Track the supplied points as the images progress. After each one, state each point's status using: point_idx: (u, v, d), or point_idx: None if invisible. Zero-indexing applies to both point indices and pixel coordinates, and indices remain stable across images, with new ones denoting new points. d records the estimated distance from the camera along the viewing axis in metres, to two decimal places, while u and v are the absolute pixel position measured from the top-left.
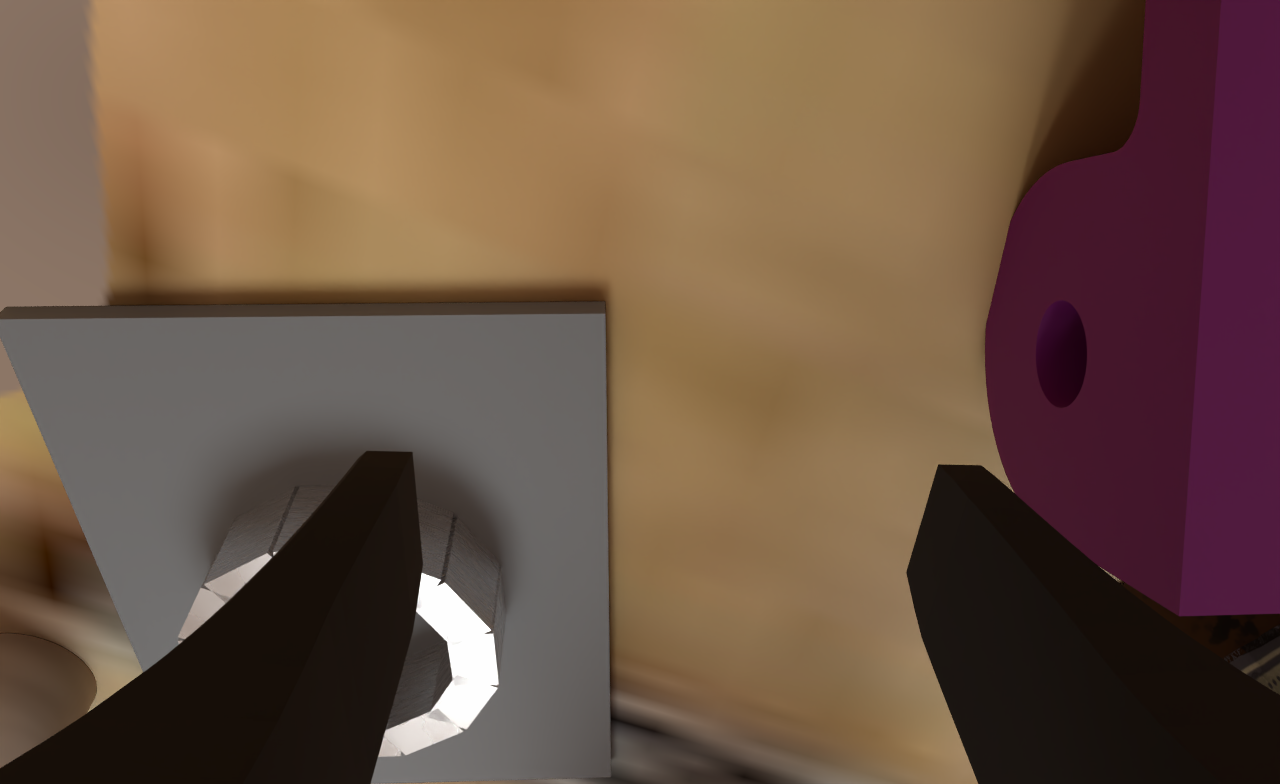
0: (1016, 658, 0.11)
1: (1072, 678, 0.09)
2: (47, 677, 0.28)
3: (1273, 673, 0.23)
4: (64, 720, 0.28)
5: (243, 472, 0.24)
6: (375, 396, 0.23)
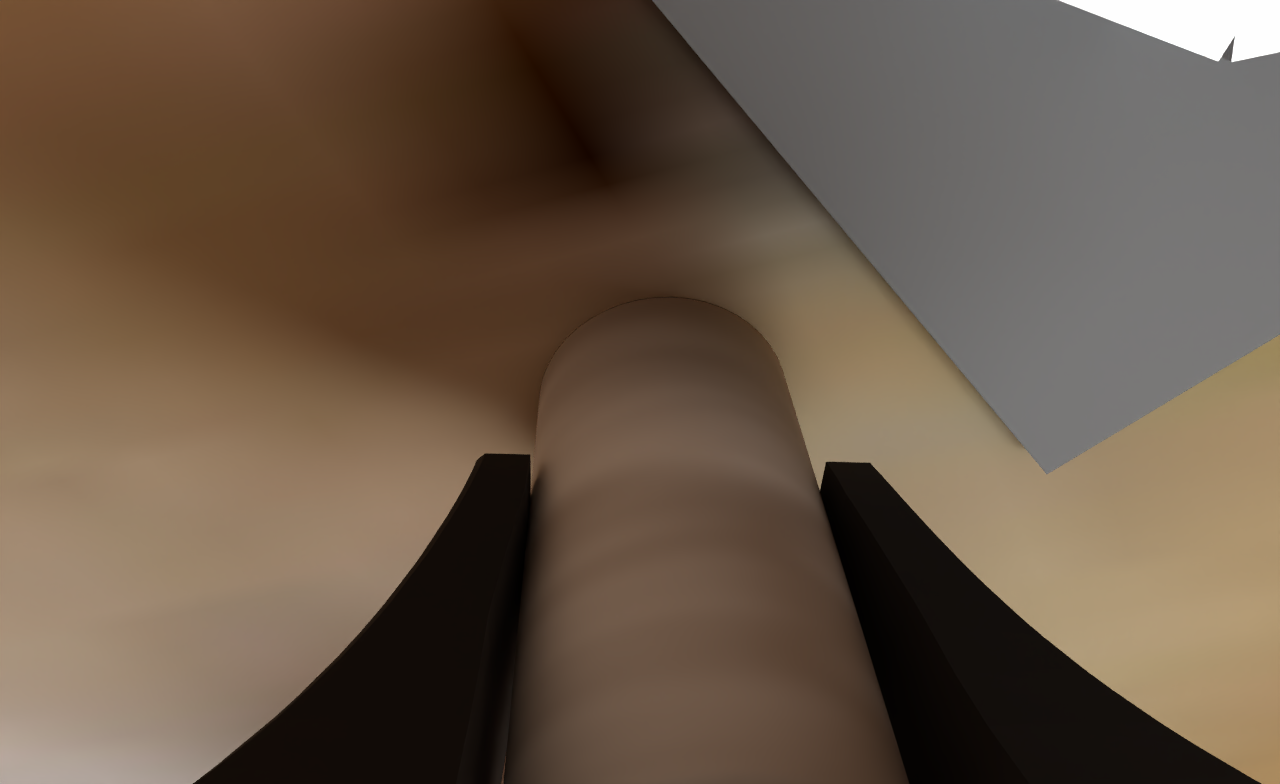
0: (883, 657, 0.11)
1: (923, 677, 0.09)
2: (690, 335, 0.13)
3: None
4: (771, 391, 0.13)
5: None
6: None
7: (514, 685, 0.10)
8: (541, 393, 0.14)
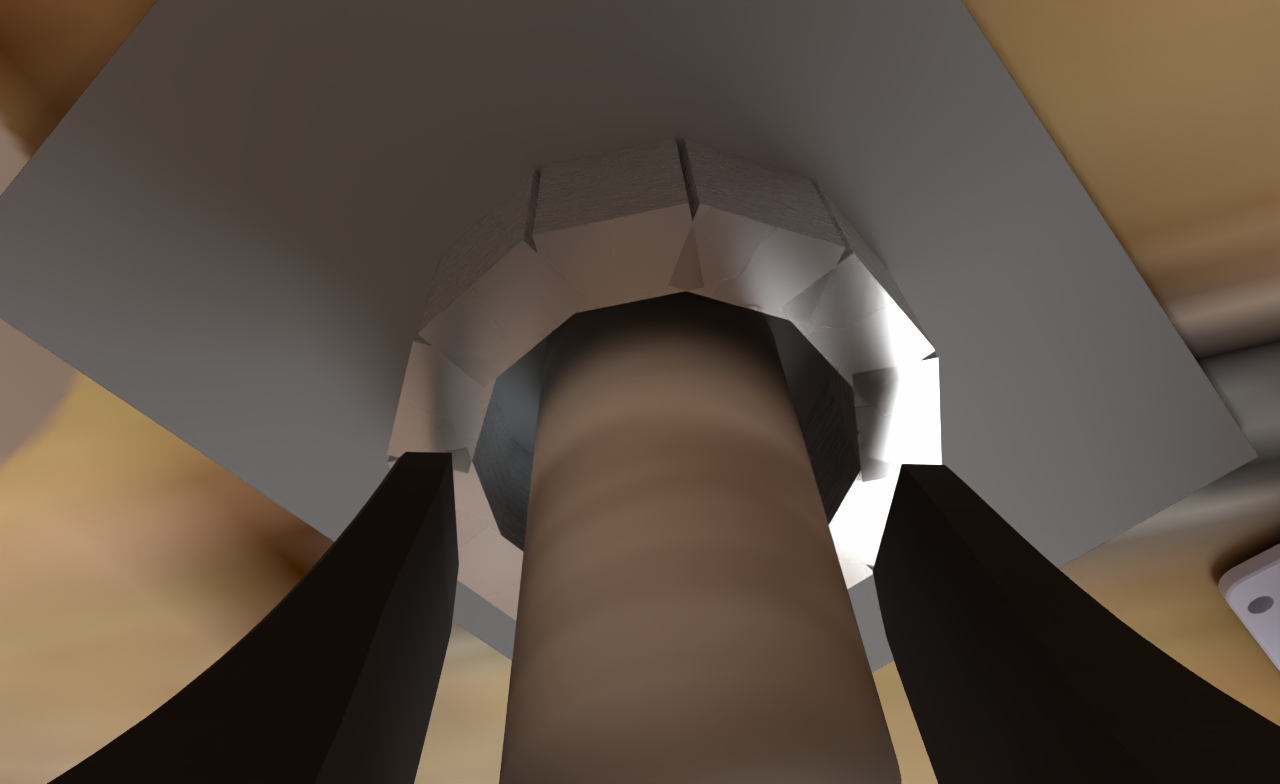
0: (973, 658, 0.11)
1: (1023, 678, 0.09)
2: (685, 302, 0.14)
3: None
4: (761, 353, 0.14)
5: (363, 286, 0.15)
6: (406, 7, 0.13)
7: (518, 615, 0.11)
8: (545, 359, 0.15)
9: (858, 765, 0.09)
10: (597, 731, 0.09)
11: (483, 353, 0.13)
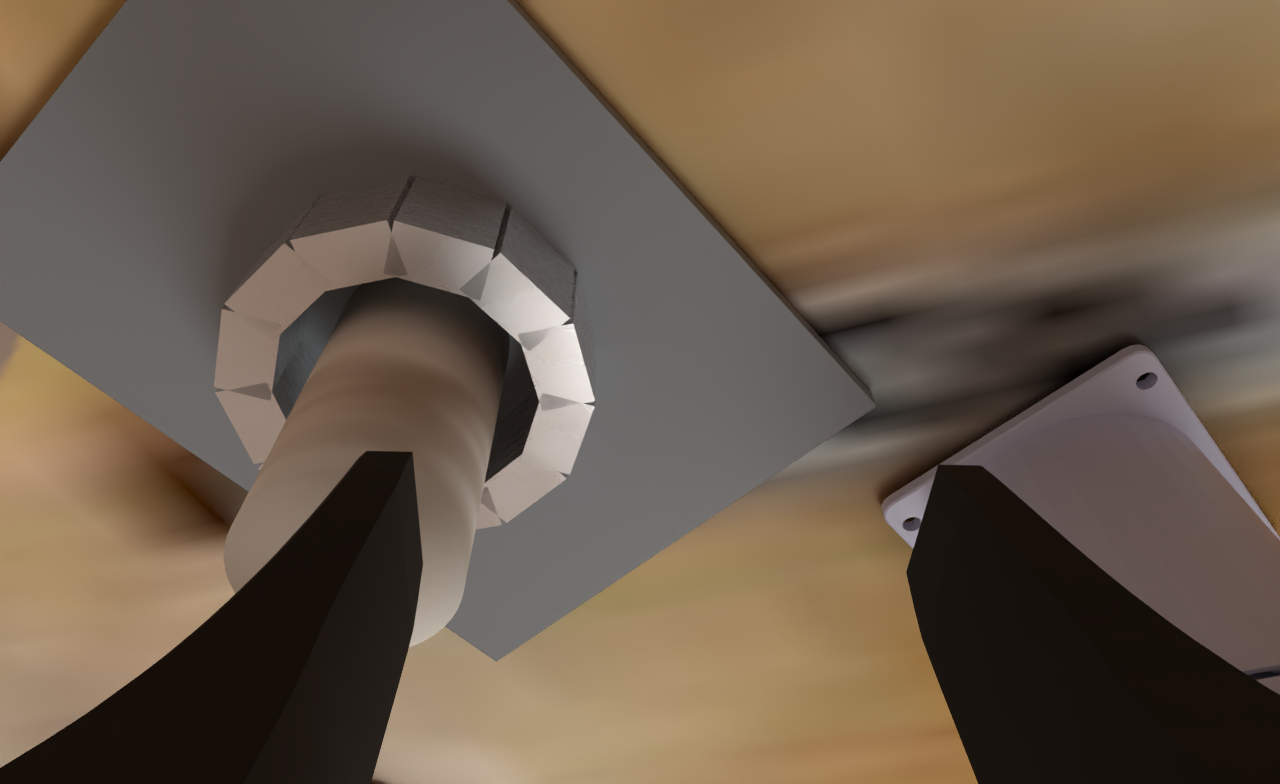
0: (1016, 658, 0.11)
1: (1072, 678, 0.09)
2: (421, 286, 0.21)
3: None
4: (467, 321, 0.20)
5: (210, 275, 0.22)
6: (221, 91, 0.19)
7: None
8: None
9: (430, 544, 0.16)
10: (271, 517, 0.15)
11: (269, 317, 0.19)
